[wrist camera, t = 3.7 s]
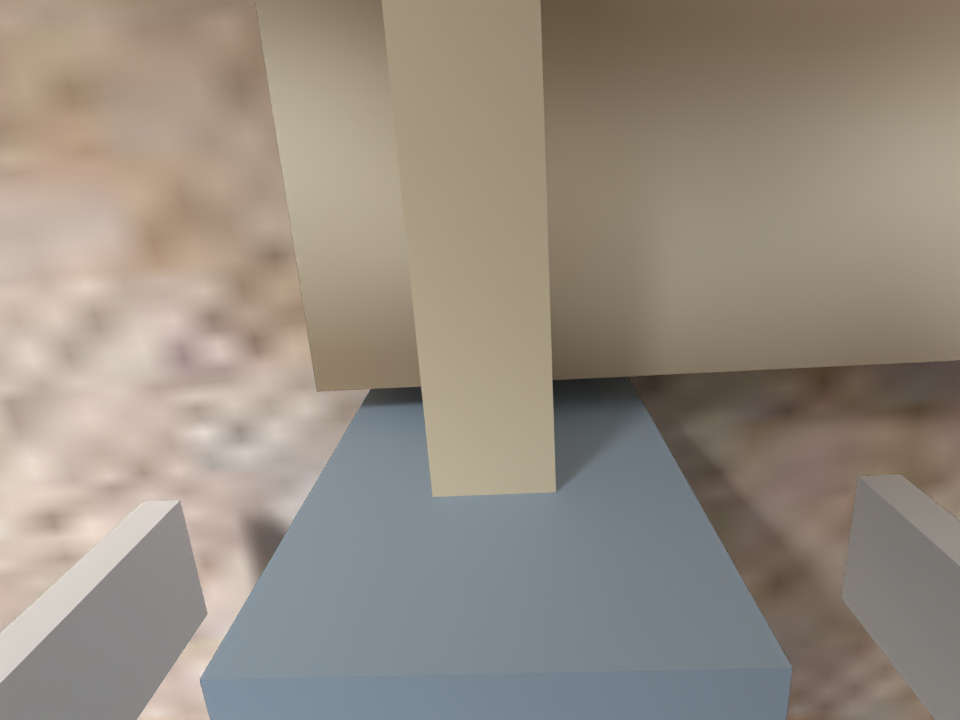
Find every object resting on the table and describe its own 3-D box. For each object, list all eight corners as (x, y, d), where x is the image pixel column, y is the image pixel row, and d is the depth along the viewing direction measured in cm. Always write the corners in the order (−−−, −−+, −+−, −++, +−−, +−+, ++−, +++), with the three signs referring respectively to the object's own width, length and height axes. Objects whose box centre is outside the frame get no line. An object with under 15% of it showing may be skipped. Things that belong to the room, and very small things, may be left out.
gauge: (316, -140, 10) (-255, -1039, 3) (621, -170, 10) (1016, -1293, 2) (409, 607, 15) (306, 1083, 7) (618, 602, 14) (744, 1092, 7)
